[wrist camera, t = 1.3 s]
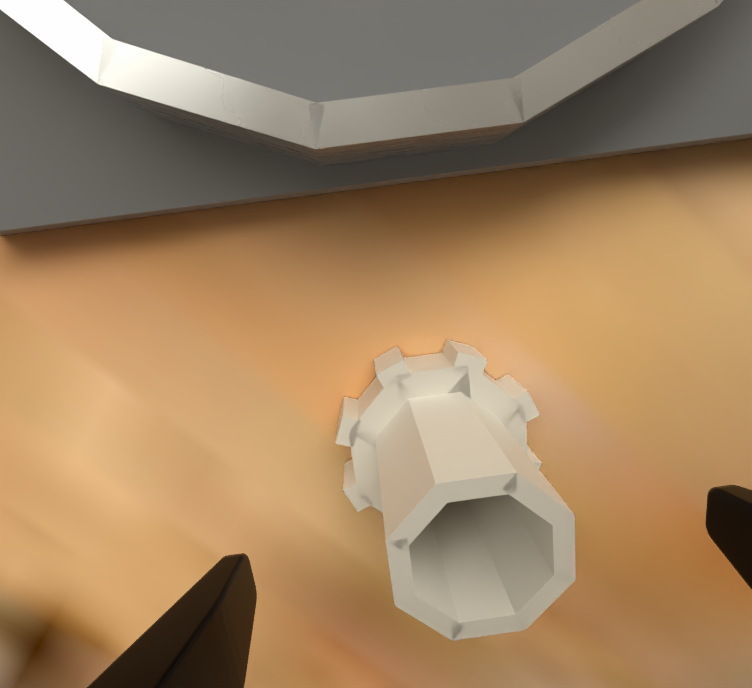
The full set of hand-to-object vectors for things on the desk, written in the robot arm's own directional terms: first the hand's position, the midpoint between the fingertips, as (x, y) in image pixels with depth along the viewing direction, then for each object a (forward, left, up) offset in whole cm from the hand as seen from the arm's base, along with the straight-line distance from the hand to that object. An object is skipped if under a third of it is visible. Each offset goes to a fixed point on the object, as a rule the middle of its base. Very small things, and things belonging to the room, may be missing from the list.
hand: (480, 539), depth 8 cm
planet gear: (0, 0, -5) cm, 5 cm away
